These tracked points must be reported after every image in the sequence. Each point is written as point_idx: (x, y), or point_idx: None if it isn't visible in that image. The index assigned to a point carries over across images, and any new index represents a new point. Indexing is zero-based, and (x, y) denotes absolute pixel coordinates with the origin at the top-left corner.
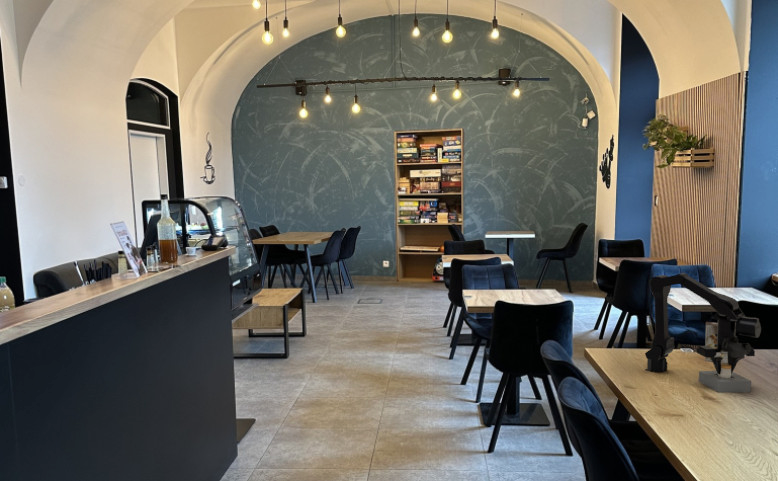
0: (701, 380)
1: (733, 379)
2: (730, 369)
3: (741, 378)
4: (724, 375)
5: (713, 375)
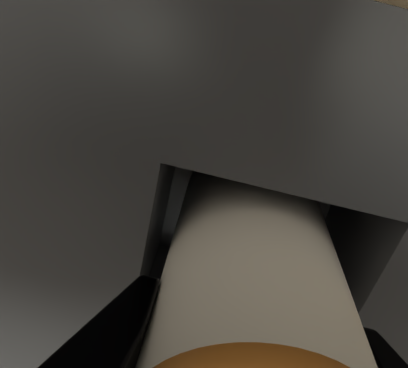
0: None
1: (275, 107)
2: (216, 329)
3: (75, 102)
4: (330, 264)
5: (400, 346)
